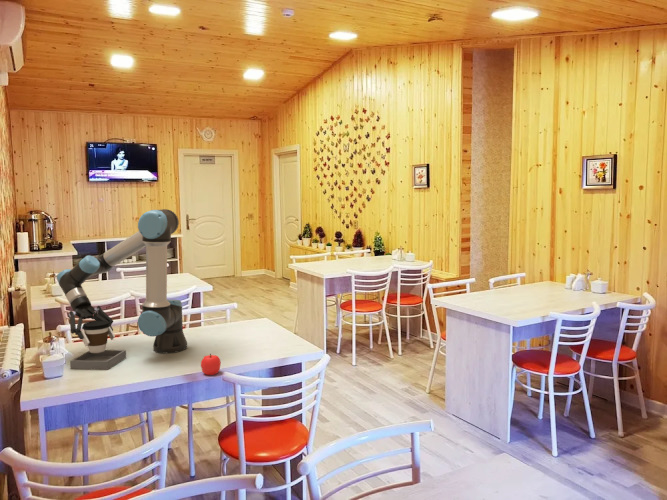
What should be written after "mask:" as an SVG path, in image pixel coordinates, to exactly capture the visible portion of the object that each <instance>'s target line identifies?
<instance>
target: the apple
mask: <svg viewBox="0 0 667 500" xmlns="http://www.w3.org/2000/svg"><path fill="white" fill-rule="evenodd" d="M200 367H201V372H202V373H203V374H204V375H207V376H213V375H217V374H218V373H219V372H220V369H221V359H220V357H219V356H218V355H215V354H212V353H210V354H209V355H204V356H203V358H202V360H201V362H200Z"/></svg>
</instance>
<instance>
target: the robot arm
mask: <svg viewBox="0 0 667 500" xmlns="http://www.w3.org/2000/svg"><path fill="white" fill-rule="evenodd" d="M179 222H180V221H179V217H178V215H177V214H176V213H175V212H174V211H172V210H170V209H166V208H164V209H163V208H161V209H151V210H148V211H146V212H144V213H142V214H141V216H140V217H139V219H138V221H137V229H138V230H137V232H135V233H133V234H132V235H130V236H129V237H127V238H126V239H124V240H122V241H121V242H119V243H118V244H116V245H114V246H113V247H111V248H110V249H108V250H106V251H105V252H104V253H102V254H100V255H98V256H97V257H95V256H93V255H86V256H84V257H83V258H82V259H80V261H79V262H78V263H77V264H75V266H74V267H73V268H72V269H70V268H69V269H68V268H66V269H63V270H62V271H59V273H57V275H56V280H57V283H58V285H59V287H60V289H61V290H62V292H63V294H64V296H65V297H66V298H65V299H67V302H68V304H69V305H70V307H71V310H69V312H68V314H67V317H68V319H69V327H70V334H73V335H74V334H75V335H76V336H77V337H78V338H79V340H82V343H83V344H84V346H85V347H88V344H89V343H90V342H89V340H88V338H87V336H86V334H85V333H84V329H82V326H83V320H87V319H89V320H90V319H92V320H93V321H108V322H109V324H110V327H108V338H109V339H110V341H113V340H114V339H115V337H116V335H115V333H114V328H113V327H112V324H113V323H114V320H113V319H112V318H111V317H110V316H109V315H108V314H107V313H106V312H105V311H104V310H103V309H102V306H100V305H97V307H94V306H92V303H91V300H90V299H89V297H88V295H87V294H86V292H85V290H84V288H83V284H84V282H86V281H87V280H88V279H89V278H90V277H93V276H96V275H100V274H105V273H108V272H110V271H111V270H112V268H113V267H115V266H117V265H118V264H119V263H122V262H124V260H127V258H130V257H132V255H135V254H136V253H138V252H139V251H141V250H143V249H144V248H145V252H146V253H145V301H143V303H142V305H141V314H140V315H139V316H138V318H137V326H138V329H139V331H140V332H141V333H143V334H144V335H145V336H148V337H155V338H154V341H153V345H152V347H153V352H155V353H158V354H172V353H179V352H183V351H185V350H186V349H188V341H187V339H186V336H185V334H184V331H183V330H184V326H183V325H184V324H183V306H182V301H181V300H180V299H167V298H168V297H167V294H168V293H167V290H168V288H167V287H168V285H167V284H168V283H167V282H168V245H170V243H171V242H172V235H173V234H174V233H175V232H176V231H177V230H178V228H179ZM76 317H78V320H77V326H76Z"/></svg>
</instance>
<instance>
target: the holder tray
mask: <svg viewBox="0 0 667 500" xmlns="http://www.w3.org/2000/svg"><path fill="white" fill-rule="evenodd" d="M125 359H127V351H126V350H125V349H105V351H104V352H100V353H91V352H89V350H88V351H86V352H84V353H82V354H79V355H78V356H77V357H74V358H73V359H71V360H69V365H70V366H69V368H70V370H92V371H93V370H96V371H97V370H98V371H99V370H101V371H102V370H103V371H108V370H110V369H111V368H113V367H115V366H116V365H118V364H119V363H122V361H124V360H125Z"/></svg>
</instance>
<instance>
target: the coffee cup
mask: <svg viewBox="0 0 667 500" xmlns="http://www.w3.org/2000/svg"><path fill="white" fill-rule="evenodd" d="M108 327H110V324H109V322H108V321H96V320H93V321H87V322H85V323H82V326H81V330H83V331H84V333H85V334H86V336H87V338H88V340H89V342H90V343H89V344H88V346H87V349H88V351H89V352H91V353H100V352H104V351H105V350H107V344H108V338H109V335H108Z"/></svg>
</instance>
